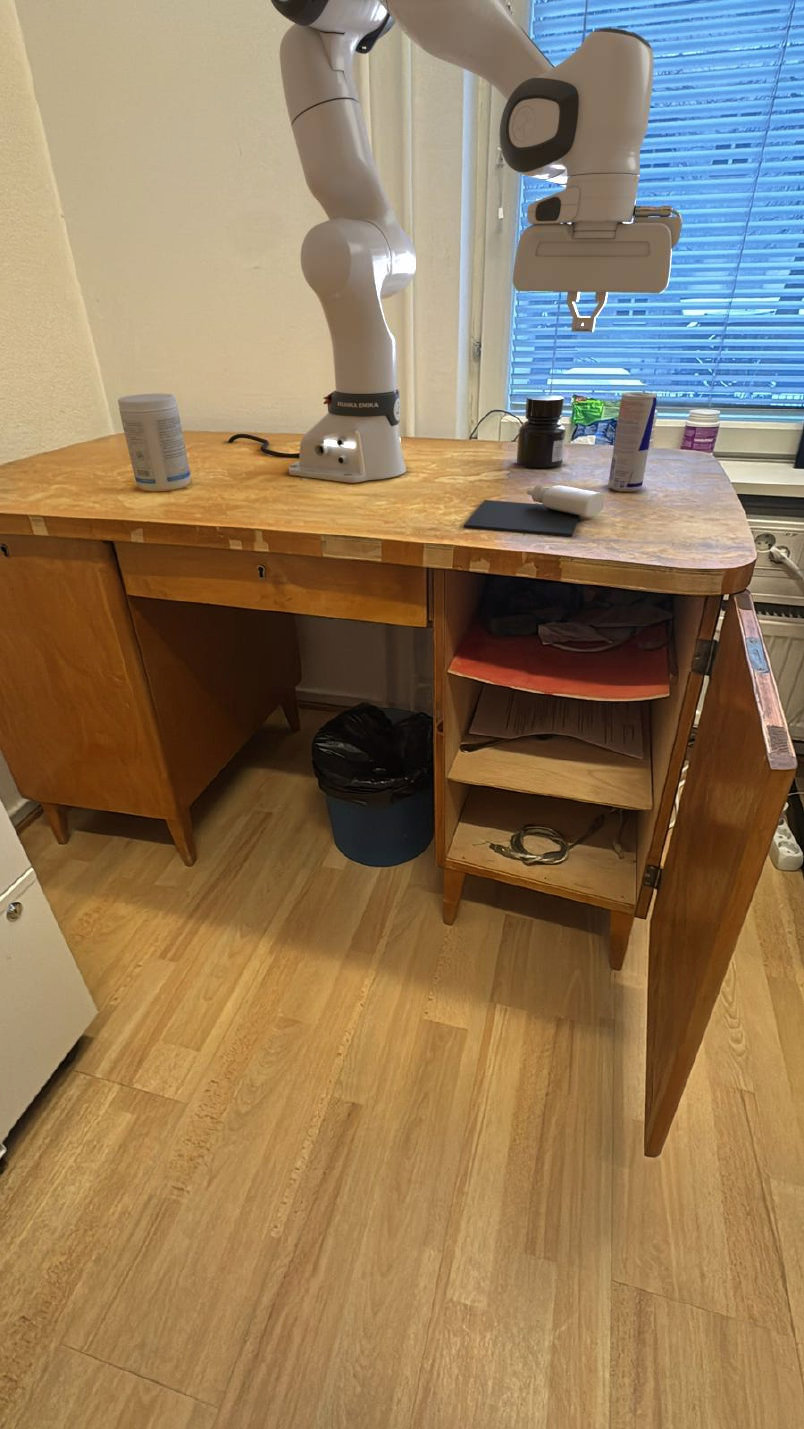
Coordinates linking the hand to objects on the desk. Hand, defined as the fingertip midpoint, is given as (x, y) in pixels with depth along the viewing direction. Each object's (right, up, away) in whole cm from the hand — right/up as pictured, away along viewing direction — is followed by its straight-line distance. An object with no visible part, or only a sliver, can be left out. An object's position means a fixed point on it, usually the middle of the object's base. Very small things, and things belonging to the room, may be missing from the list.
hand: (582, 331), depth 94 cm
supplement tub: (-68, -12, +29) cm, 75 cm away
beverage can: (+14, -14, +24) cm, 31 cm away
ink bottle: (+2, -4, +40) cm, 41 cm away
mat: (-6, -23, +10) cm, 26 cm away
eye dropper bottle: (+4, -22, +7) cm, 23 cm away
